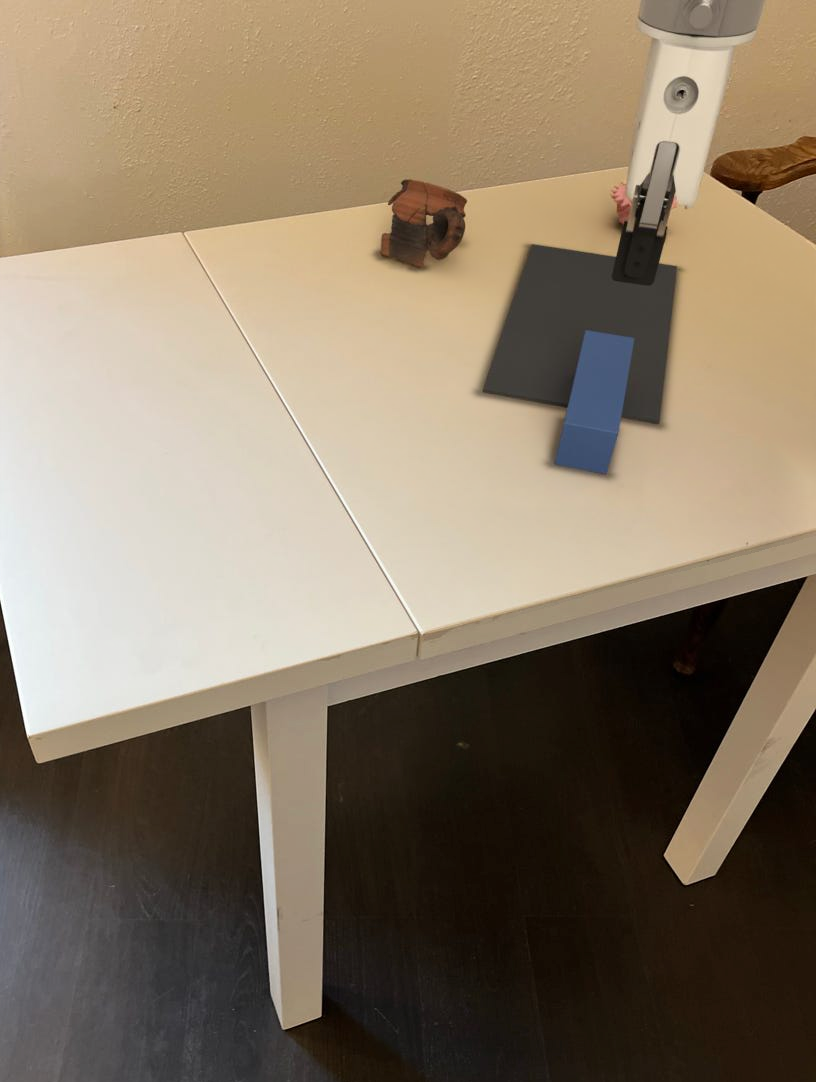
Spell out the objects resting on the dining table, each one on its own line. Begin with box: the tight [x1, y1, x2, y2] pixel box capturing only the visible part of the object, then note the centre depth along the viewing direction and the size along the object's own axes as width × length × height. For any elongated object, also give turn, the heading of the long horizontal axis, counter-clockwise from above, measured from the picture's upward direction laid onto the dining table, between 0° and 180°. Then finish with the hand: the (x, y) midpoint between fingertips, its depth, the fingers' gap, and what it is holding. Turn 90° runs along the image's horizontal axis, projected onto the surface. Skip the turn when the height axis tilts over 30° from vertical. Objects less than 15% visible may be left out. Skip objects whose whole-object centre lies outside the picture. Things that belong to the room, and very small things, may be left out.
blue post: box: [554, 330, 634, 475], centre depth 83 cm, size 4×4×14 cm
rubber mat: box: [482, 243, 678, 425], centre depth 96 cm, size 16×30×1 cm, turn 164°
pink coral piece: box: [609, 182, 678, 226], centre depth 109 cm, size 8×8×6 cm
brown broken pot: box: [380, 178, 468, 269], centre depth 104 cm, size 12×10×8 cm
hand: (632, 278), depth 74 cm, fingers closed
